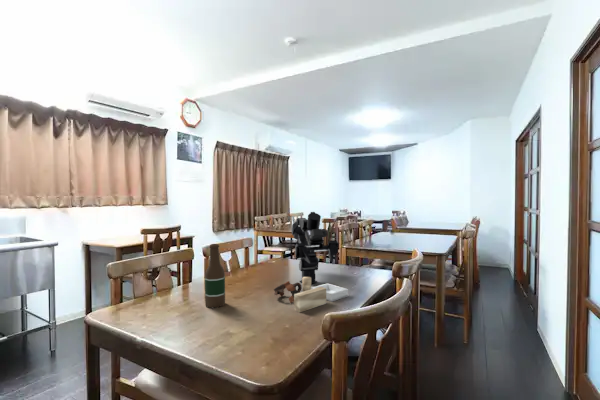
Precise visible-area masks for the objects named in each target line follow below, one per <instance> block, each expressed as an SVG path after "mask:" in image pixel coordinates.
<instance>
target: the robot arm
mask: <svg viewBox="0 0 600 400" xmlns="http://www.w3.org/2000/svg"><path fill="white" fill-rule="evenodd" d="M321 217H322V216H321V215H320V214H319V213H316V212H315V211H310V213H309V214H307V218H306V217H298V218H296V221H295V222H293V224H292V227H291V236H293V239H295V240H296V241H297V242H298V243H296V244H295V245H294V247H295V249H294V255H295V257H296V258H299V263H298V270H299V271H300V272H301V280H299V283H300V284H302V278H303V277H311V285H313V284H316V283H318V280H316V271H318V270H319V262H320V261H319V258H318V257H317V254H316V253H317V252H327V254H328V258H329V260H330V262H332V263H333V258H334V256H335V255H336V254H338V252H339V244H340V243H339V241H338V240H329V241H328V243H327V244H326V245H323V243H324V239H323V238H326V237H327V236H328V231H327V229H326V228H320V226H321V220H322V219H321Z"/></svg>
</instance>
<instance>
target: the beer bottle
mask: <svg viewBox="0 0 600 400" xmlns="http://www.w3.org/2000/svg"><path fill="white" fill-rule="evenodd" d="M219 247H220V245H219V244H218V243H211V244H209V249H210V250H209V264H208V266H207V268H206V270H205V271H204V272H205V273H204V303H205V307H207V306H208V307H207V308H209V307H218V308H220V307H219V306H221V307H223V306H224V305H225V303H226V276H225V274H226V273H225V269H224V267H223V266H222V265H221V261H220V260H221V259H220V251H219V250H220V249H219Z"/></svg>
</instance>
